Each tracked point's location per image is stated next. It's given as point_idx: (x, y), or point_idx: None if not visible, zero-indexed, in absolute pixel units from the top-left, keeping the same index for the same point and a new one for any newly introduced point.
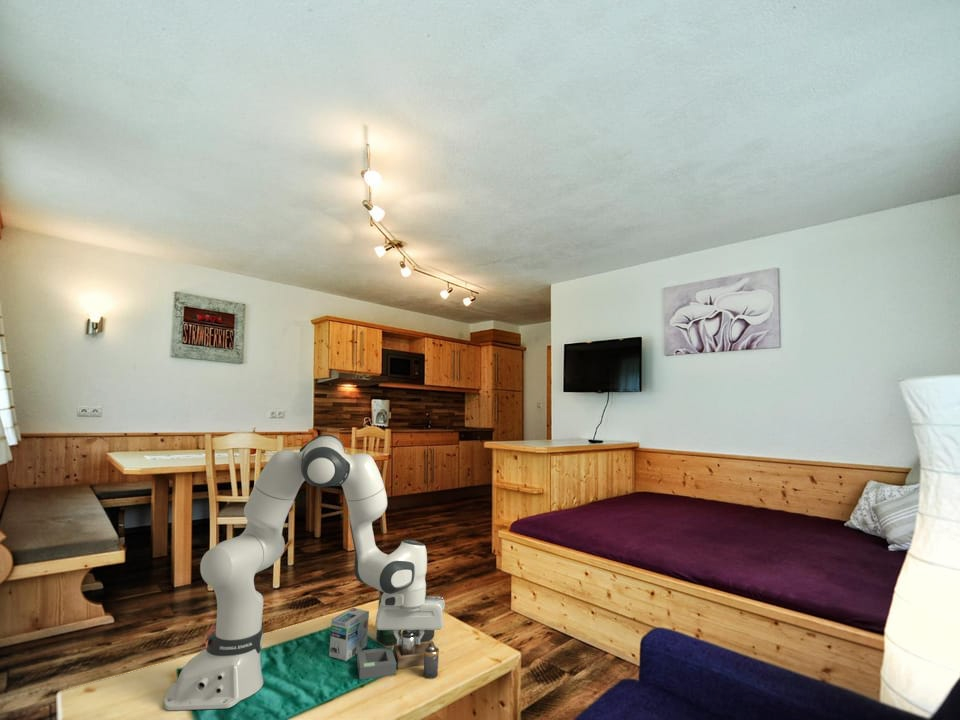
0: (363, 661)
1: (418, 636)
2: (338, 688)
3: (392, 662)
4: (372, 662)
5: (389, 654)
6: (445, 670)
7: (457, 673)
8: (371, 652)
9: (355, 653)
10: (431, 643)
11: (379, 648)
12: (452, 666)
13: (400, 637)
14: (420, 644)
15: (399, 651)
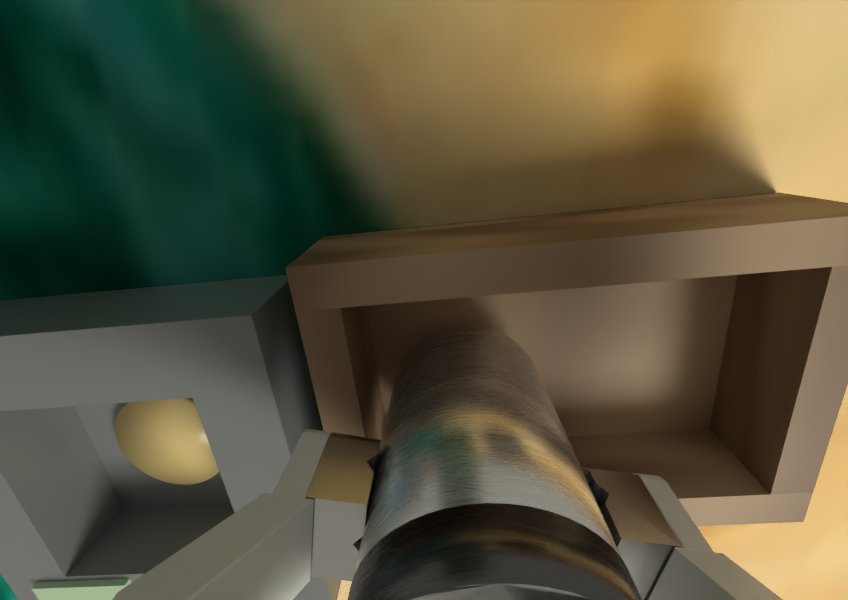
0: (19, 546)
1: (676, 558)
2: (8, 590)
3: (297, 596)
4: (109, 588)
5: (250, 473)
6: (741, 529)
7: (810, 572)
8: (33, 406)
9: None
10: (837, 297)
11: (99, 333)
12: (827, 491)
13: (328, 522)
14: (667, 275)
15: (361, 431)
